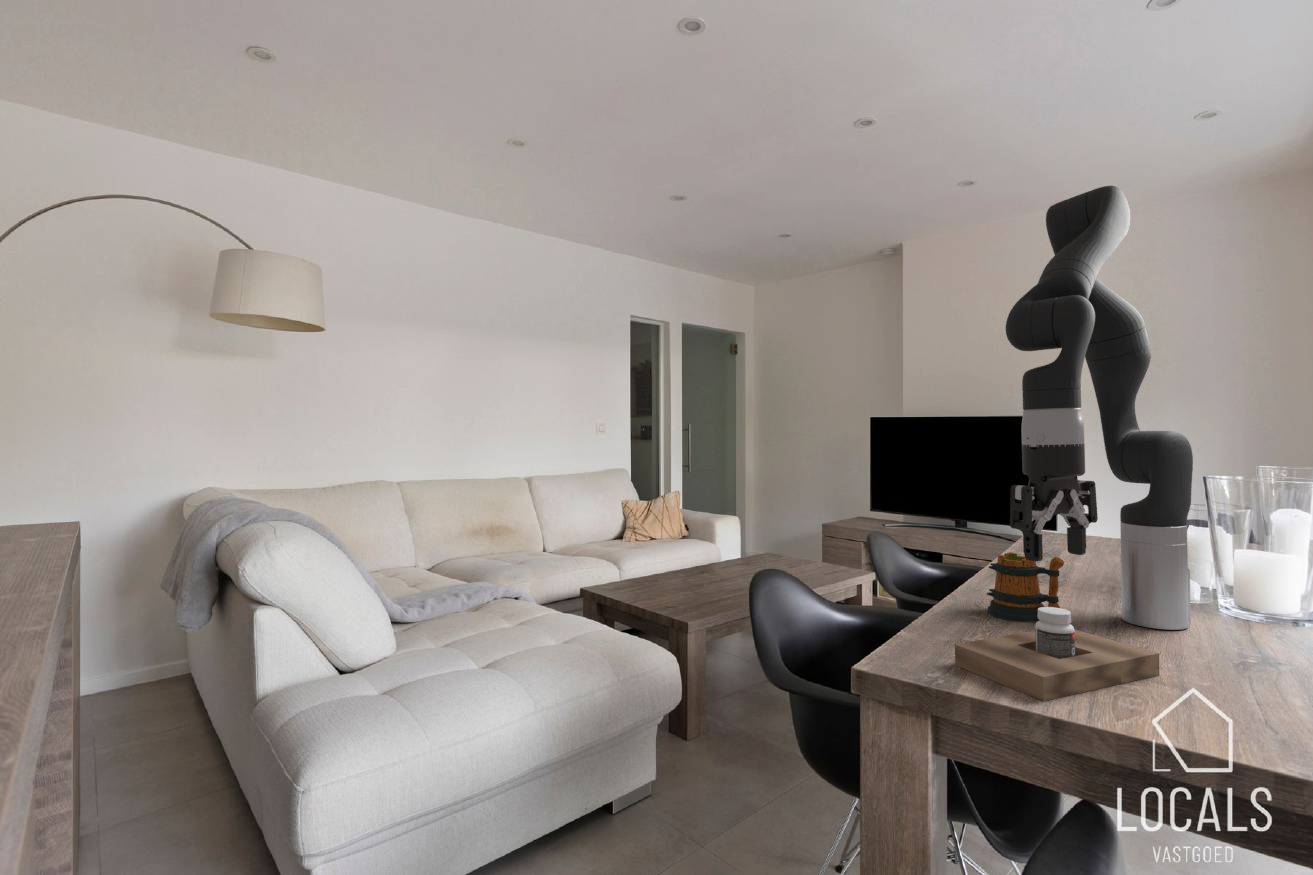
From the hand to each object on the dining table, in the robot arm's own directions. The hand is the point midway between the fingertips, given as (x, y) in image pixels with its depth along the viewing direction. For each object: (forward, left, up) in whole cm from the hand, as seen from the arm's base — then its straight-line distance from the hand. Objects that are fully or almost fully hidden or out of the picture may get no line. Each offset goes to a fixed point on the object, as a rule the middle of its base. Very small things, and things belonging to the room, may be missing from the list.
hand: (1055, 557), depth 92 cm
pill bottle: (0, 0, -16) cm, 16 cm away
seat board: (0, 0, -16) cm, 16 cm away
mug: (-20, -21, -16) cm, 33 cm away
